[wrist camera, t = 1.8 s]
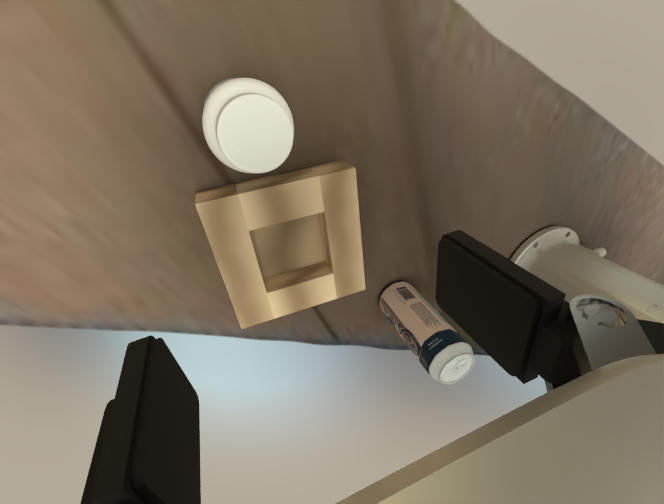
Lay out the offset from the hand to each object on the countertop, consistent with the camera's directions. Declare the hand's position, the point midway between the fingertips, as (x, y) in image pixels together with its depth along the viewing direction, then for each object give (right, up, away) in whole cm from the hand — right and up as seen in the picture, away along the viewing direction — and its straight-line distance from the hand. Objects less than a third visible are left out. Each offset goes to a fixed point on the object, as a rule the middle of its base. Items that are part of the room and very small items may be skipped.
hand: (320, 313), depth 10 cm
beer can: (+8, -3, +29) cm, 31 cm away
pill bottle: (-7, +13, +14) cm, 20 cm away
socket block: (-4, +3, +20) cm, 21 cm away
